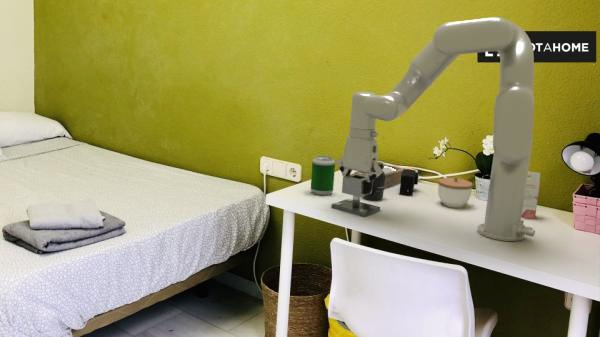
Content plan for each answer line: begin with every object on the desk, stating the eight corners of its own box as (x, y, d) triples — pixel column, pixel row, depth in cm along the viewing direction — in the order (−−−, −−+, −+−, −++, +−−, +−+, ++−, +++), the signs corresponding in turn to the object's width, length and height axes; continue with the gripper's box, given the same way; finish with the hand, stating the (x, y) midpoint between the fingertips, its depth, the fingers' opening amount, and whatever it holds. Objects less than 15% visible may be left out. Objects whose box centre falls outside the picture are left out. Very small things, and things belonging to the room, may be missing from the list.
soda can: (333, 196, 198) (336, 161, 195) (310, 195, 198) (312, 159, 195) (332, 190, 205) (335, 156, 202) (310, 189, 205) (312, 154, 202)
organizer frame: (404, 181, 222) (406, 168, 221) (376, 191, 207) (377, 177, 206) (382, 176, 228) (383, 163, 227) (353, 186, 212) (354, 172, 211)
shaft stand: (379, 210, 185) (381, 191, 184) (364, 217, 178) (366, 197, 177) (347, 202, 192) (348, 183, 191) (331, 207, 185) (332, 188, 184)
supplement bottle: (382, 202, 195) (385, 166, 192) (361, 199, 196) (364, 164, 193) (383, 196, 201) (387, 161, 199) (363, 194, 203) (366, 159, 200)
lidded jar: (452, 198, 204) (455, 171, 202) (476, 207, 195) (480, 179, 193) (429, 202, 198) (432, 174, 196) (453, 211, 189) (457, 182, 187)
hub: (371, 193, 185) (373, 177, 184) (360, 197, 180) (361, 181, 178) (353, 188, 189) (354, 173, 187) (341, 192, 184) (343, 176, 182)
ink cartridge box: (535, 215, 190) (542, 170, 187) (534, 219, 186) (541, 173, 182) (506, 211, 193) (513, 166, 190) (505, 215, 189) (512, 169, 185)
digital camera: (415, 197, 203) (417, 177, 202) (399, 195, 205) (401, 175, 203) (417, 189, 213) (419, 170, 212) (401, 187, 214) (403, 168, 213)
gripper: (393, 136, 178) (387, 195, 182) (344, 127, 188) (340, 183, 192) (380, 139, 172) (374, 199, 176) (330, 130, 182) (326, 187, 186)
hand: (356, 190), depth 184 cm, fingers closed on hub, 6 cm apart
